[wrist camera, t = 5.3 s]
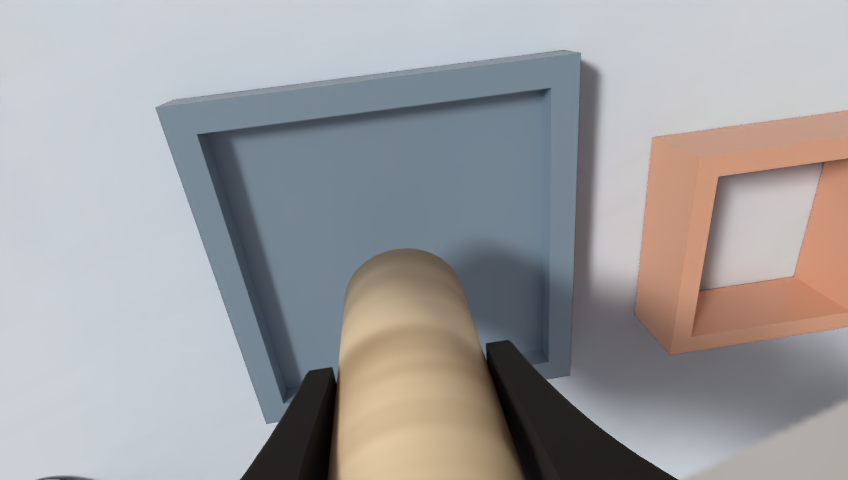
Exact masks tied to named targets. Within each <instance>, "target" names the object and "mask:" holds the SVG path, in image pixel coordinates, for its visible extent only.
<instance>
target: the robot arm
mask: <svg viewBox="0 0 848 480" xmlns="http://www.w3.org/2000/svg"><path fill="white" fill-rule="evenodd" d="M486 358H487V364H488V367H489V370H490V373H491V376H492V379H493V382H494V385H495V388H496V391H497V394H498V397H499V400H500V403H501V406H502V409H503V412H504V415H505V418H506V421H507V424H508V427H509V430H510V433H511V436H512V439H513V442H514V445H515V448H516V451H517V454H518V456H519V459H520V462H521V465H522V468H523V471H524V474H525V477H526V480H678V479H676V478H674V477H673V476H671V475H669V474H668V473H666V472H665V471H663V470H661V469H660V468H658V467H656V466H655V465H653V464H652V463H650V462H648V461H647V460H645V459H644V458H642V457H640V456H639V455H637V454H636V453H634V452H633V451H631V450H630V449H629V448H627V447H626V446H624V445H623V444H621V443H620V442H619V441H617V440H616V439H614V438H613V437H612V436H610V435H609V434H608V433H606V432H605V431H604V430H602V429H601V428H600V427H599V426H597V425H596V424H595V423H594V422H592V421H591V420H590V419H589V418H587V417H586V416H585V415H584V414H583V413H582V412H580V411H579V410H578V409H577V408H576V407H575V406H573V405H572V404H571V403H570V402H569V401H568V400H567V399H566V398H565V397H564V396H562V395H561V394H560V393H559V392H558V391H557V390H556V389H555V388H554V387H553V386H552V385H551V384H550V383H549V382H548V381H547V380H546V379H545V378H544V377H543V376H542V375H541V374H540V373H539V372H538V371H537V370H536V369H535V368H534V367H533V366H532V365H531V364H530V362H529V361H528V360H527V359H526V358H525V357H524V356H523V355H522V354H521V352H520V351H519V350H518V349H517V348H516V347H515V345H514V344H513V343H512V342H511V341H509V340H503V341H497V342H490V343H486ZM336 384H337V383H336V379H335V375H334V371H333V367H329V368H322V369H316V370H309V371H308V373H307V374H306V375H305V377H304V379H303V381H302V383H301V385H300V386H299V388H298V390H297V392H296V394H295V396H294V397H293V399H292V401H291V403H290V404H289V406H288V408H287V410H286V411H285V413H284V415H283V416H282V418H281V420H280V421H279V423H278V425H277V426H276V428H275V429H274V431H273V433H272V434H271V436H270V437H269V439H268V441H267V442H266V444H265V445H264V447H263V448H262V449H261V451H260V452H259V454H258V455H257V457H256V458H255V460H254V461H253V463H252V464H251V466H250V467H249V468H248V470H247V471H246V473H245V474H244V475H243V477H242V478H241V479H240V480H327V479H328V469H329V458H330V447H331V437H332V426H333V416H334V405H335V395H336Z"/></svg>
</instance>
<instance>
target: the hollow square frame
mask: <svg viewBox="0 0 848 480" xmlns="http://www.w3.org/2000/svg"><path fill="white" fill-rule="evenodd" d="M818 162H824V166H823V169H822V173H821V177H820V180H819V184H818V188H817V192H816V195H815V199H814V203H813V206H812V210H811V214H810V218H809V221H808V225H807V229H806V232H805V236H804V240H803V244H802V247H801V251H800V255H799V258H798V262H797V266H796V270H795V273H794V277H789V278H782V279H776V280H769V281H763V282H756V283H750V284H743V285H736V286H730V287H723V288H717V289H710V290H704V291H699V287H700V281H701V275H702V270H703V264H704V258H705V252H706V246H707V240H708V234H709V228H710V223H711V217H712V211H713V205H714V199H715V193H716V187H717V181H718V177H719V176H726V175H733V174H740V173H747V172H754V171H762V170H769V169H776V168H783V167H790V166H797V165H804V164H811V163H818ZM634 315H635V316H636V317H637V318H638V320H639V321H640V322H641V323H642V324H643V325H644V326H645V327H646V329H647V330H648V331H649V332H650V333H651V334H652V335H653V336H654V338H655V339H656V340H657V341H658V342H659V343H660V344H661V345H662V347H663V348H664V349H665V350H666V351H667V352H668V353H669V355H675V354H681V353H687V352H694V351H700V350H706V349H713V348H719V347H725V346H732V345H738V344H744V343H750V342H757V341H763V340H769V339H776V338H782V337H788V336H795V335H801V334H807V333H813V332H820V331H826V330H832V329H839V328H845V327H848V111H842V112H835V113H827V114H820V115H813V116H805V117H798V118H791V119H784V120H776V121H769V122H762V123H754V124H747V125H740V126H733V127H725V128H718V129H711V130H703V131H696V132H689V133H682V134H674V135H667V136H660V137H653V139H652V148H651V158H650V168H649V178H648V187H647V197H646V207H645V216H644V226H643V236H642V246H641V255H640V265H639V275H638V285H637V294H636V304H635V314H634Z"/></svg>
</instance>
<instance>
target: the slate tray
mask: <svg viewBox="0 0 848 480" xmlns="http://www.w3.org/2000/svg"><path fill="white" fill-rule="evenodd" d="M580 61H581V53H578V52H572V51H567V50H561V51H553V52H545V53H537V54H530V55H522V56H514V57H506V58H498V59H490V60H483V61H475V62H467V63H459V64H451V65H443V66H436V67H428V68H420V69H412V70H404V71H396V72H389V73H381V74H373V75H365V76H357V77H349V78H342V79H334V80H326V81H318V82H310V83H302V84H295V85H287V86H279V87H271V88H263V89H255V90H248V91H240V92H232V93H224V94H216V95H208V96H201V97H193V98H185V99H177V100H172V101H169V102H167V103H165V104H162V105H160V106H158V107H155V108H156V111H157V114H158V117H159V120H160V122H161V125H162V128H163V131H164V134H165V137H166V139H167V142H168V145H169V148H170V151H171V154H172V157H173V159H174V162H175V165H176V168H177V171H178V174H179V176H180V179H181V182H182V185H183V188H184V191H185V194H186V196H187V199H188V202H189V205H190V208H191V211H192V213H193V216H194V219H195V222H196V225H197V228H198V231H199V233H200V236H201V239H202V242H203V245H204V248H205V250H206V253H207V256H208V259H209V262H210V265H211V268H212V270H213V273H214V276H215V279H216V282H217V285H218V287H219V290H220V293H221V296H222V299H223V302H224V305H225V307H226V310H227V313H228V316H229V319H230V322H231V324H232V327H233V330H234V333H235V336H236V339H237V342H238V344H239V347H240V350H241V353H242V356H243V359H244V361H245V364H246V367H247V370H248V373H249V376H250V379H251V381H252V384H253V387H254V390H255V393H256V396H257V398H258V401H259V404H260V407H261V410H262V413H263V416H264V418H265V421H266V424H269V423H275V422H279V421H280V420H281V418H282V416H283V415H284V413H285V411H286V410H287V408H288V406H289V404H290V403H291V401H292V399H293V397H294V396H295V394H296V392H297V390H298V388H299V386H300V385H301V383H302V381H303V379H304V377H305V375H306V374H307V373H308V371H309V370H316V369H322V368H329V367H333V371H334V375H335V379H336V383H337V374H338V363H339V353H340V342H341V331H342V321H343V310H344V300H345V293H346V289H347V286H348V283H349V281H350V279H351V277H352V276H353V274H354V273H355V271H356V270H357V269H358V268H359V267H360V266H361V265H362V264H364V263H365V262H366V261H367V260H369V259H370V258H372V257H374V256H376V255H378V254H380V253H383V252H386V251H389V250H394V249H403V248H409V249H419V250H423V251H427V252H430V253H432V254H434V255H436V256H438V257H440V258H441V259H443V260H444V261H445V262H447V263H448V264H449V265H450V266H451V267H452V268H453V270H454V271H455V273H456V274H457V276H458V278H459V280H460V283H461V286H462V289H463V292H464V295H465V298H466V301H467V304H468V307H469V310H470V313H471V316H472V319H473V322H474V325H475V328H476V331H477V334H478V337H479V340H480V343H481V346H482V349H483V352H484V355H485V358H486V343H490V342H497V341H503V340H509V341H511V342H512V343H513V344H514V345H515V347H516V348H517V349H518V350H519V351H520V352H521V354H522V355H523V356H524V357H525V358H526V359H527V360H528V361H529V362H530V364H531V365H532V366H533V367H534V368H535V369H536V370H537V371H538V372H539V373H540V374H541V375H542V376H543V377H544V378H545V379H552V378H558V377H564V376H570V363H571V333H572V303H573V273H574V242H575V212H576V182H577V152H578V121H579V91H580ZM486 361H487V358H486Z"/></svg>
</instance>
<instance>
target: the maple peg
mask: <svg viewBox="0 0 848 480" xmlns="http://www.w3.org/2000/svg"><path fill="white" fill-rule="evenodd" d="M327 480H526V477H525V474H524V471H523V468H522V465H521V462H520V459H519V456H518V454H517V451H516V448H515V445H514V442H513V439H512V436H511V433H510V430H509V427H508V424H507V421H506V418H505V415H504V412H503V409H502V406H501V403H500V400H499V397H498V394H497V391H496V388H495V385H494V382H493V379H492V376H491V373H490V370H489V367H488V364H487V361H486V358H485V355H484V352H483V349H482V346H481V343H480V340H479V337H478V334H477V331H476V328H475V325H474V322H473V319H472V316H471V313H470V310H469V307H468V304H467V301H466V298H465V295H464V292H463V289H462V286H461V283H460V280H459V278H458V276H457V274H456V273H455V271H454V270H453V268H452V267H451V266H450V265H449V264H448V263H447V262H445V261H444V260H443V259H441V258H440V257H438V256H436V255H434V254H432V253H430V252H427V251H423V250H419V249H409V248H403V249H394V250H389V251H386V252H383V253H380V254H378V255H376V256H374V257H372V258H370V259H369V260H367V261H366V262H365V263H364V264H362V265H361V266H360V267H359V268H358V269H357V270H356V271H355V273H354V274H353V276H352V277H351V279H350V281H349V283H348V286H347V289H346V293H345V300H344V310H343V321H342V331H341V342H340V353H339V363H338V374H337V384H336V395H335V405H334V416H333V426H332V437H331V447H330V458H329V469H328V479H327Z"/></svg>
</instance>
